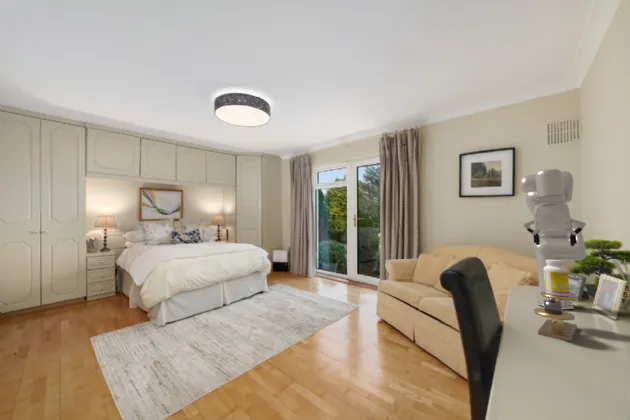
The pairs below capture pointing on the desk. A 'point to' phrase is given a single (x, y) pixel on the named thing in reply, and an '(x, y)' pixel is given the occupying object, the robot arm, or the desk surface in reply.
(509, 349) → the desk surface
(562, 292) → the supplement bottle
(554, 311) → the balance
